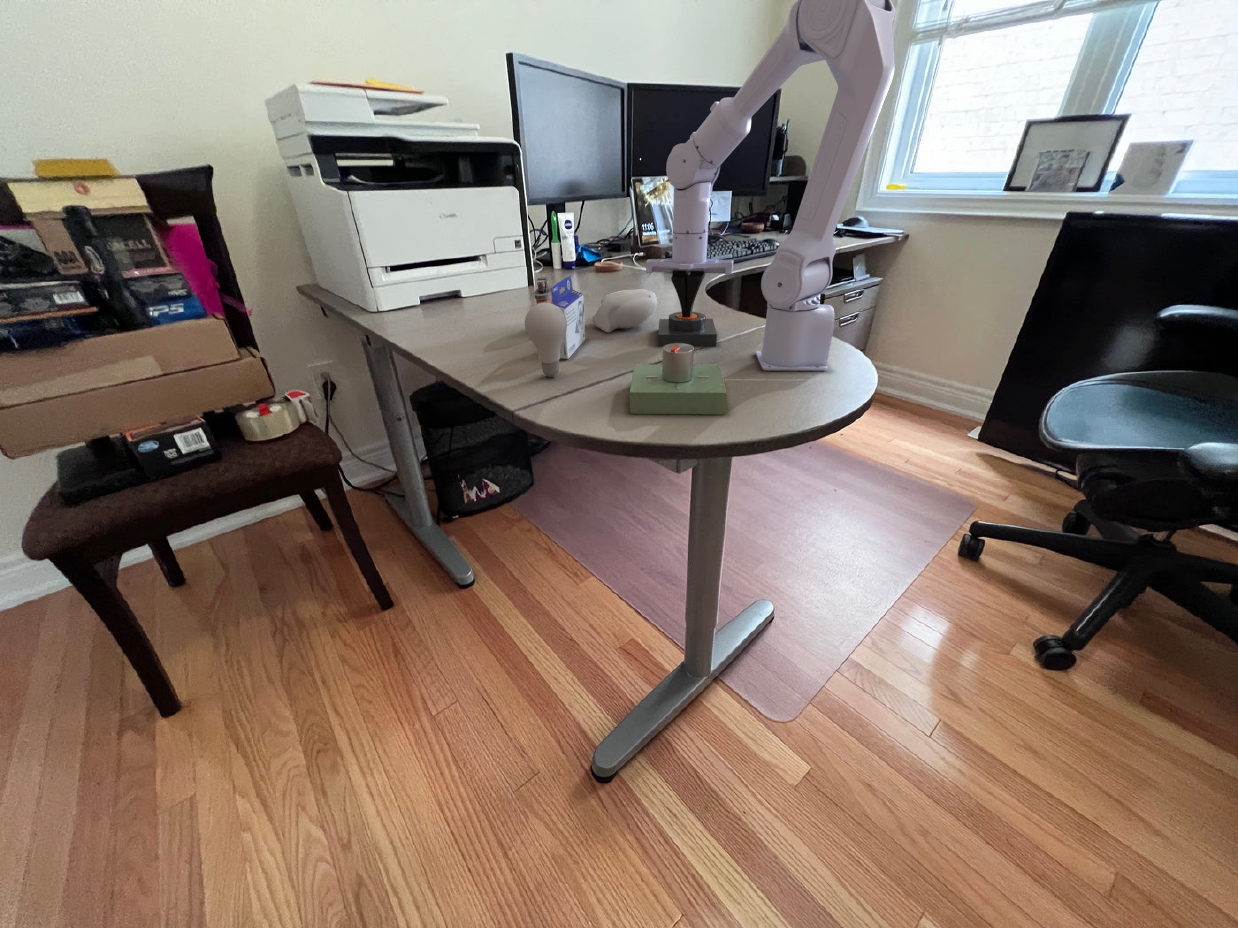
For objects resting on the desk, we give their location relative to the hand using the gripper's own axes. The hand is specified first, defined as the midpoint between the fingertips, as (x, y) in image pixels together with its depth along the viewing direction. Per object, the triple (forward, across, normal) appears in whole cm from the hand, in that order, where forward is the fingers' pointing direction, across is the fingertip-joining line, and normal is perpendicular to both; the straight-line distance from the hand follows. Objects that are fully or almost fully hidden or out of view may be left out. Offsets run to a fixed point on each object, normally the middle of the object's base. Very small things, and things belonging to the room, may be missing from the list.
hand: (686, 315), depth 87 cm
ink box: (+4, -18, -10) cm, 21 cm away
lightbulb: (+4, -17, -23) cm, 29 cm away
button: (+2, 0, 0) cm, 2 cm away
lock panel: (+4, +3, -27) cm, 27 cm away
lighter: (+4, -28, +1) cm, 28 cm away
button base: (+4, 0, 0) cm, 4 cm away
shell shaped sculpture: (+4, -14, +6) cm, 16 cm away
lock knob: (+1, +3, -27) cm, 27 cm away
